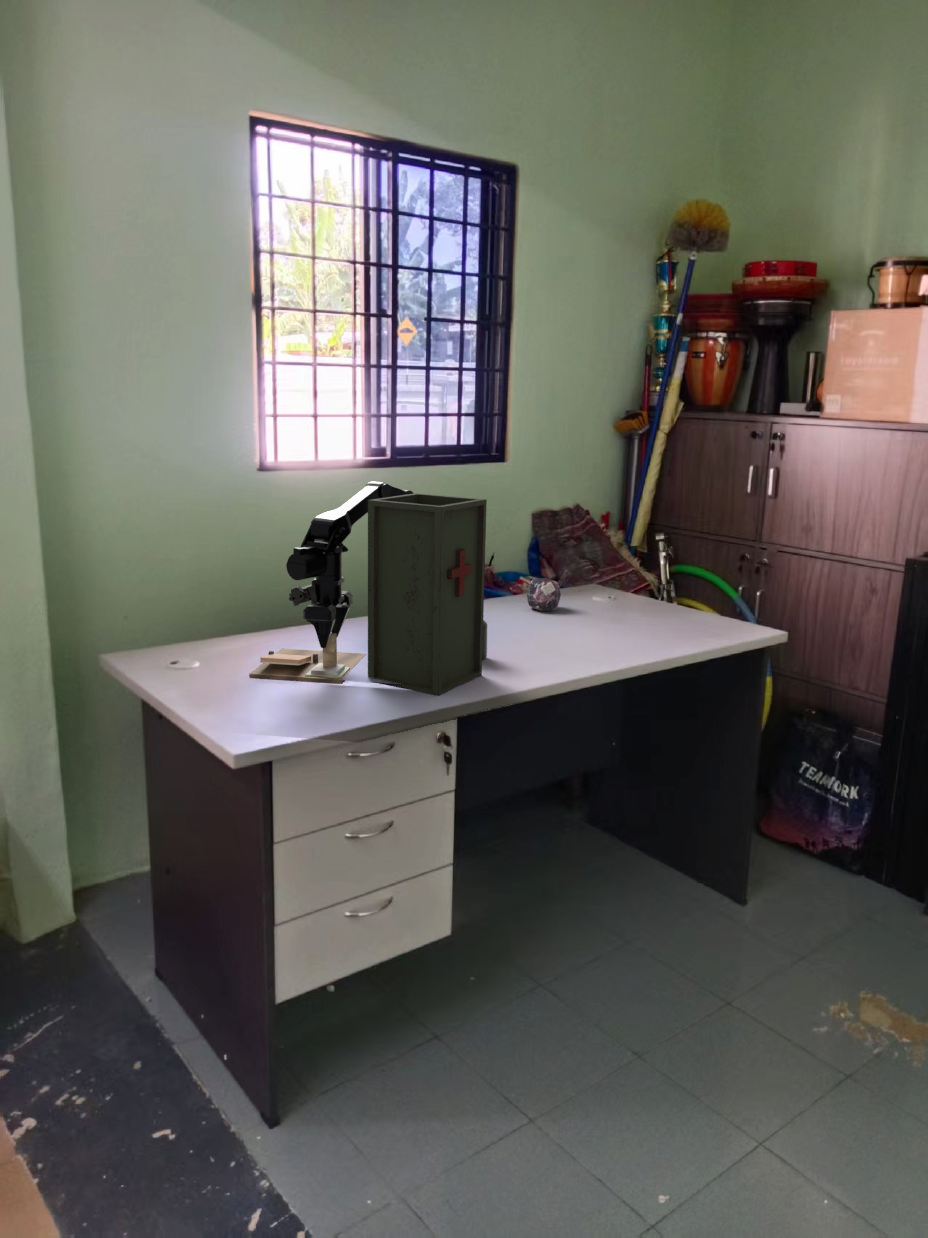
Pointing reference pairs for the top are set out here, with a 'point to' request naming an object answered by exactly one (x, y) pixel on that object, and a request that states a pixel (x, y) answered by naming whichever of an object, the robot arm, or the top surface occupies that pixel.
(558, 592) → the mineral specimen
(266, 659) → the tile
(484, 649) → the supplement bottle
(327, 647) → the stamp
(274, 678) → the board
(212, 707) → the top surface
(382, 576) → the first aid box
